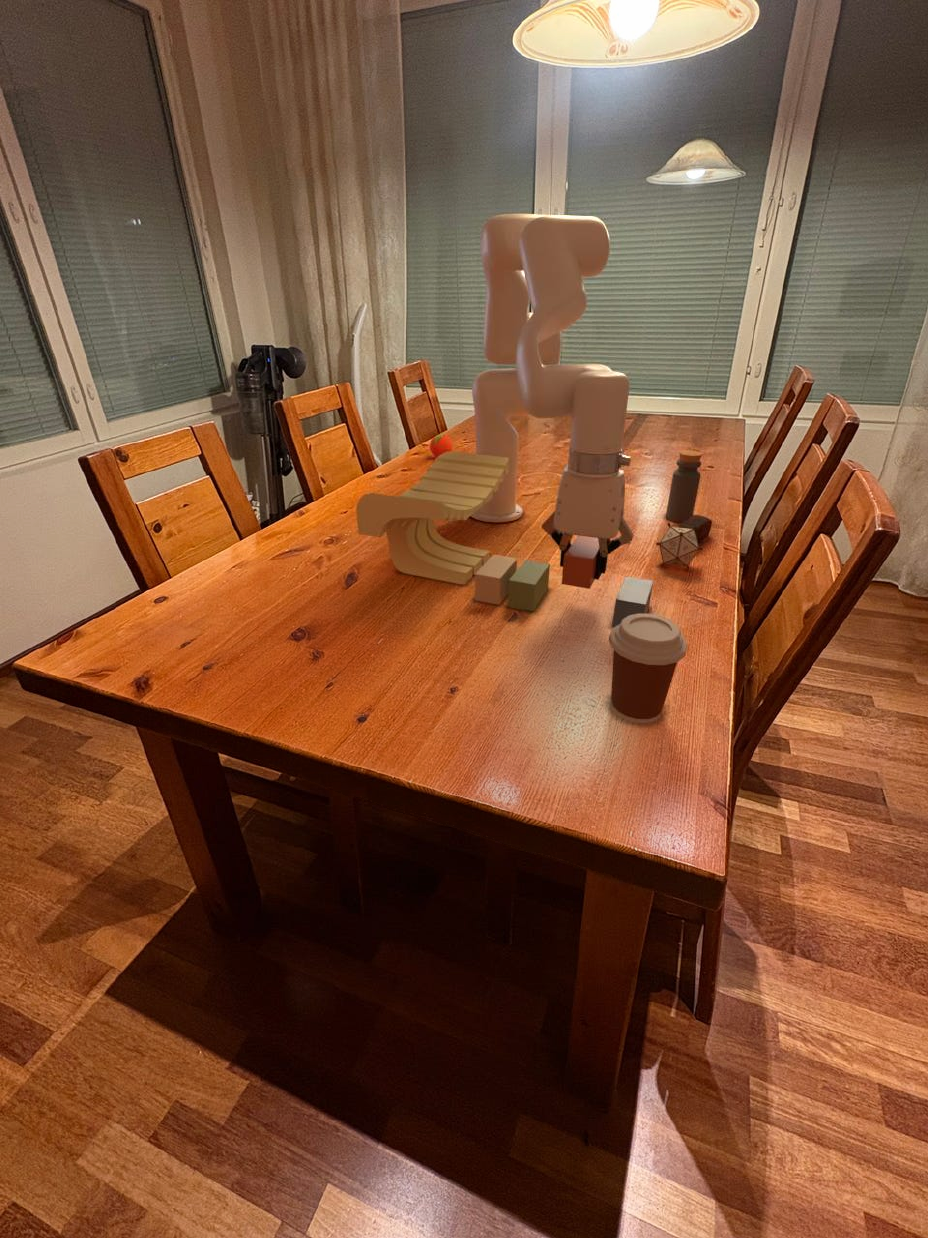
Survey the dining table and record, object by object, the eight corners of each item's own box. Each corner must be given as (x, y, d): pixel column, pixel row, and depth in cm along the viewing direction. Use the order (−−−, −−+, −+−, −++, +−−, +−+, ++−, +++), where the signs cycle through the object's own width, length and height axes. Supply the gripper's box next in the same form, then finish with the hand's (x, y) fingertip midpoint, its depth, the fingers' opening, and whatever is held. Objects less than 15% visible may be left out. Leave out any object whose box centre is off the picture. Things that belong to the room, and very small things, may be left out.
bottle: (693, 515, 141) (706, 451, 133) (690, 524, 136) (703, 457, 129) (667, 512, 143) (678, 448, 135) (663, 520, 138) (675, 454, 131)
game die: (678, 580, 119) (714, 540, 116) (679, 583, 111) (718, 540, 108) (642, 551, 120) (677, 511, 117) (641, 552, 112) (679, 509, 109)
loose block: (561, 584, 95) (564, 554, 93) (575, 562, 103) (577, 535, 100) (589, 589, 94) (593, 559, 91) (601, 567, 101) (604, 539, 99)
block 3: (611, 627, 95) (615, 599, 93) (621, 602, 103) (625, 576, 100) (640, 632, 94) (645, 604, 92) (648, 607, 101) (653, 580, 99)
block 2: (507, 606, 101) (508, 579, 99) (523, 585, 109) (525, 559, 106) (533, 611, 100) (535, 584, 97) (548, 589, 107) (550, 563, 105)
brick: (691, 551, 122) (695, 529, 120) (672, 546, 124) (676, 525, 122) (709, 536, 129) (714, 516, 127) (691, 532, 131) (695, 511, 129)
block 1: (474, 600, 103) (474, 573, 101) (492, 579, 111) (493, 554, 108) (499, 605, 102) (500, 578, 99) (515, 583, 109) (517, 558, 107)
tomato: (444, 462, 181) (444, 438, 178) (424, 460, 184) (423, 436, 180) (456, 456, 187) (456, 433, 184) (436, 454, 190) (436, 430, 186)
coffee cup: (688, 714, 76) (707, 633, 70) (637, 739, 72) (652, 655, 66) (635, 679, 83) (648, 602, 77) (585, 700, 79) (595, 620, 73)
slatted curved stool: (437, 531, 131) (435, 449, 123) (506, 543, 126) (509, 457, 117) (363, 587, 107) (354, 490, 99) (443, 605, 102) (442, 503, 93)
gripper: (656, 461, 89) (638, 573, 98) (545, 450, 95) (538, 557, 104) (649, 473, 83) (631, 592, 92) (531, 461, 89) (525, 574, 98)
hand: (582, 572), depth 98 cm, fingers closed on loose block, 4 cm apart
